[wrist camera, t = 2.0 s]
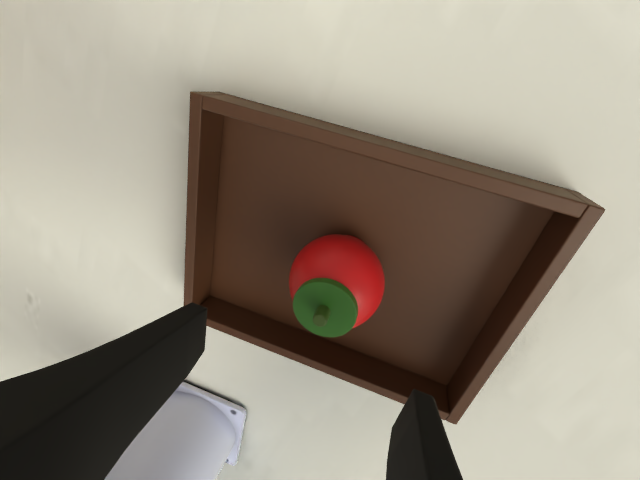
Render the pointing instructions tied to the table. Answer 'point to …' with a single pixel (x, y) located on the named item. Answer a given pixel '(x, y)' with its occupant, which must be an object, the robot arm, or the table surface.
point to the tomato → (335, 284)
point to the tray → (377, 233)
